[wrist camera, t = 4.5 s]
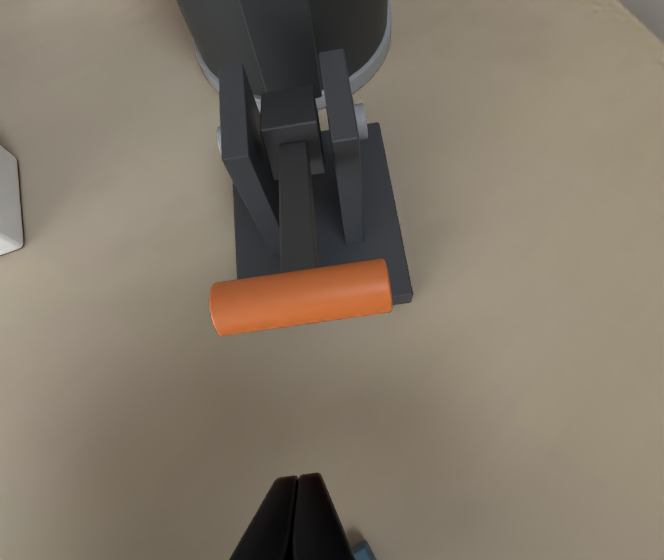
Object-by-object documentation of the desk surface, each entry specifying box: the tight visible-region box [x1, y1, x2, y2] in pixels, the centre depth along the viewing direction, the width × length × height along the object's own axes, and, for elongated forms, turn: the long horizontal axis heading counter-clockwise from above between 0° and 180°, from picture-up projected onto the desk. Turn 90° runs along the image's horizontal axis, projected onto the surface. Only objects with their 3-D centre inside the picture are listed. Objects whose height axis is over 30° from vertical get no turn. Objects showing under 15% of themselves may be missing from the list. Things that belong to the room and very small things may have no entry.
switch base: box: [217, 48, 413, 305], centre depth 21 cm, size 11×9×10 cm
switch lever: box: [209, 85, 392, 336], centre depth 16 cm, size 11×5×2 cm, turn 7°
